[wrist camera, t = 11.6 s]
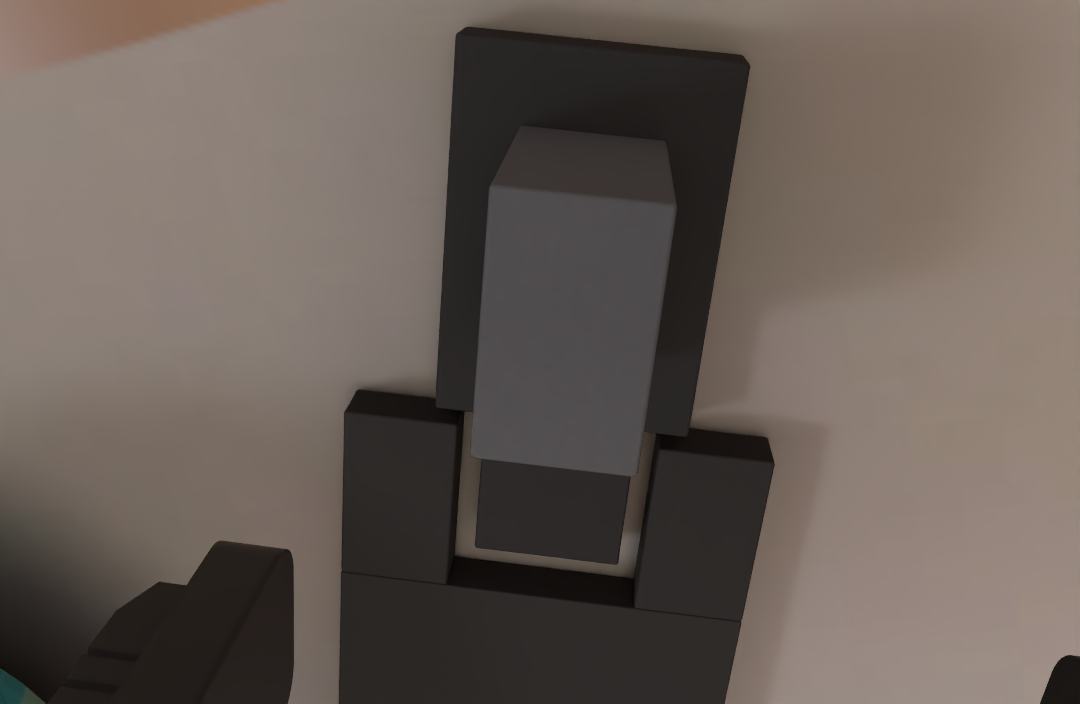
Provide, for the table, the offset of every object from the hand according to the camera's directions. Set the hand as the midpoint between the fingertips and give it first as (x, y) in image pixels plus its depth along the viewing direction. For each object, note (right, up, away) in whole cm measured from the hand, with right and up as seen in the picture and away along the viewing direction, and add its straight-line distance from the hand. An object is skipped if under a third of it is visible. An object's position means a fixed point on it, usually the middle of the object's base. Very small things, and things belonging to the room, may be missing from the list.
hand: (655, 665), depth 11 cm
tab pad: (0, +5, +18) cm, 18 cm away
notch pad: (-1, -5, +22) cm, 22 cm away
